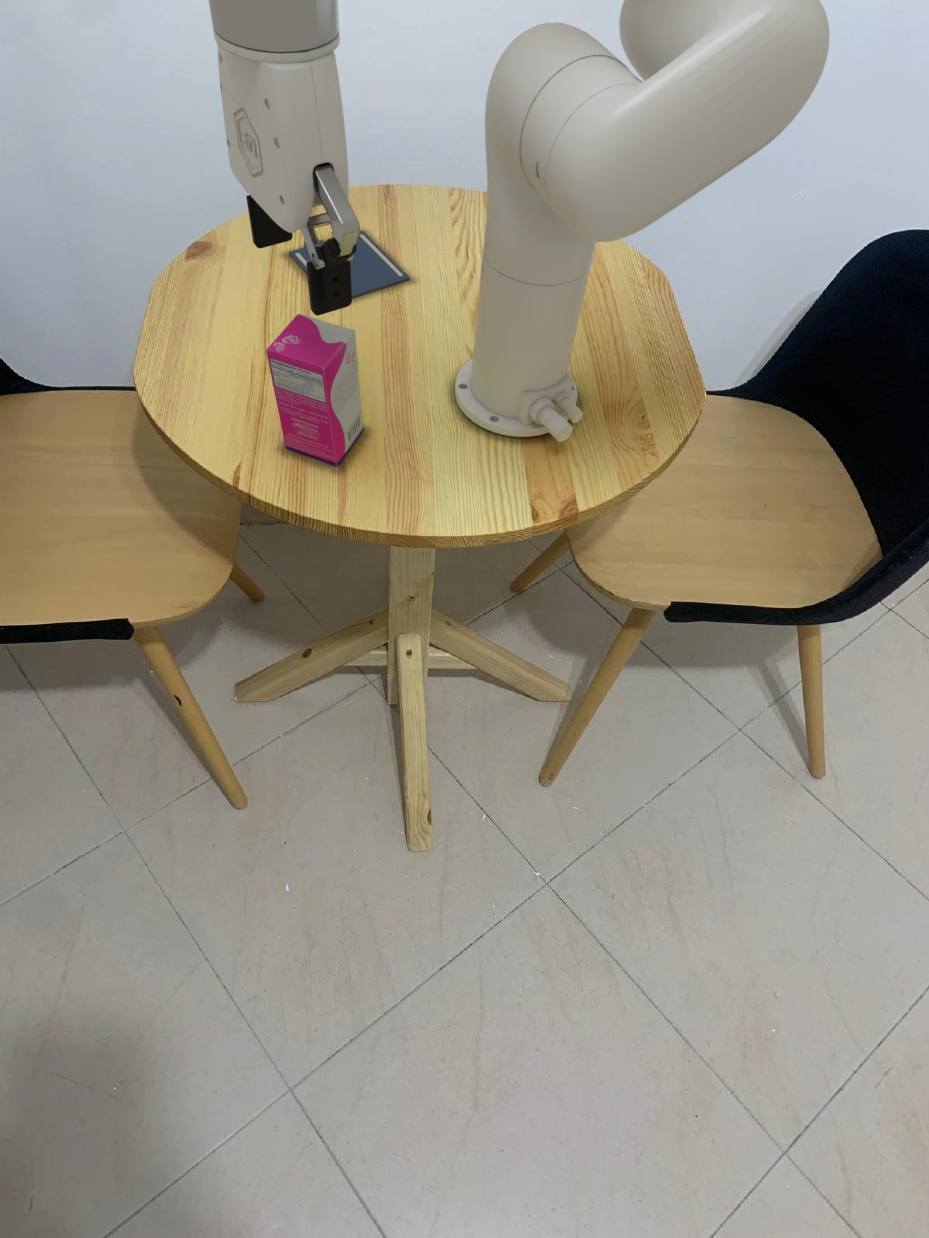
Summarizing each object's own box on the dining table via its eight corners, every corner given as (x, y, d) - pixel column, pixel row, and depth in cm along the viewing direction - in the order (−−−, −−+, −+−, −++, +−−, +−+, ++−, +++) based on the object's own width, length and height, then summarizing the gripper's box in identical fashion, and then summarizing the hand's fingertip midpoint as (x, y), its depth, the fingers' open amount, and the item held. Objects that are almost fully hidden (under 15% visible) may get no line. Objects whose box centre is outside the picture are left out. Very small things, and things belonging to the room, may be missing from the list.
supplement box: (311, 412, 76) (298, 309, 67) (365, 430, 76) (360, 329, 66) (282, 449, 73) (264, 347, 64) (337, 469, 72) (327, 369, 63)
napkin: (409, 279, 90) (409, 277, 90) (333, 304, 86) (333, 301, 86) (363, 232, 95) (362, 230, 94) (288, 254, 91) (288, 251, 91)
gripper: (157, -36, 48) (210, 231, 62) (282, 80, 41) (310, 352, 55) (268, -48, 51) (294, 209, 65) (404, 58, 44) (400, 322, 58)
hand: (301, 274), depth 60 cm, fingers open, 9 cm apart
